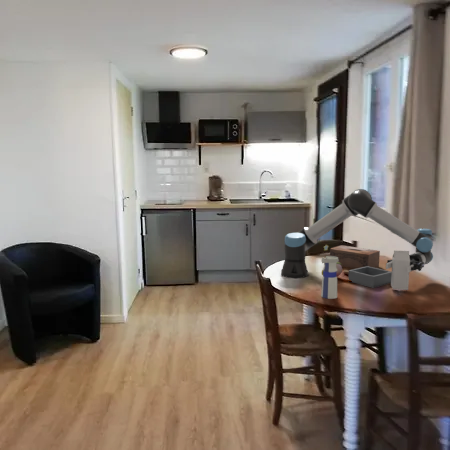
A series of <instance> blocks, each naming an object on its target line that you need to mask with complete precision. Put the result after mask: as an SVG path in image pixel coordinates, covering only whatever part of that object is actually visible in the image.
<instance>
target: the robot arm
mask: <svg viewBox="0 0 450 450" xmlns="http://www.w3.org/2000/svg"><path fill="white" fill-rule="evenodd" d="M372 198H373V197H372V194H371V193H370V192H369V191H368V190H366V189H363V188H358V189H355V190H354V191H353V192H351V193H350V194H349V195H347V196H346V197H345V198H344V199H342V202H341V203H340V204H339V205H338V206H337V207H335V208H333V210H331V211H330V212H328V213H327V214H325V215H324V216H323V217H322V218H320V219H319V220H317V221H316V222H314V223H313V224H312V225H310V226H309V227H307V226H304V227H303V228H301V229H300V230H299V231H297V232H290V233H287V234H286V235H285V236H284V261H283V265H282V269H281V271H280V272H281V273H280V275H281V276H282V277H285V278H290V279H291V278H292V279H301V278H302V279H303V278H307V277H308V276H309V272H308V268H307V267H308V266H307V263H306V251H307V250H309V249H310V248H311V247H313V246H315V245H316V244H318V240H319V239H320V238H321V237H323V236H325V235H326V234H327V233H328V232H330V231H331V230H333V229H334V228H336V227H337V226H338V225H340V224H342V223H343V222H345V221H346V220H347V219H349V218H351V217H357V216H358V215H360V216H362V217H363V218H365V219H370V220H372V221H374V222H375V223H377V224H379V225H380V226H382V227H383V228H385V229H386V230H388V231H390V232H391V233H393V234H394V235H396V236H397V237H399V238H400V239H403V240H404V241H406V242H407V243H409V244H410V245H412V246H414V247H415V252H414V253H411V254H409V256H410V266H408V267H407V271H406V273H409V274H410V273H411V272H413V271H419V272H420V271H422V269H423V268H425V265H428V264H430V262H432V261H433V259H434V255H433V252H431V251H432V249H433V246H434V243H433V240H432V238H433V231H432V229H431V228H423V229H422V228H418V229H416V228H415V227H412V226H411V225H409V224H408V223H406V222H404V221H403V220H401V219H399V218H398V217H396V216H395V215H393V214H392V213H390V212H388V211H386V210H385V209H384V208H382V207H380V206H379V205H377V204H378V203H377V202H376V201H374V200H373V199H372ZM385 269H386V270H389V269H392V259H387V263H385Z"/></svg>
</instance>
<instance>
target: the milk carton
mask: <svg viewBox="0 0 450 450" xmlns="http://www.w3.org/2000/svg"><path fill="white" fill-rule="evenodd" d="M409 255H410V250H393V255H392V259H391V260H392V268H391V272H392V275H391V283H390V286H391V288H392V290H397V291H398V290H402V291H409V282H410V280H409V279H410V272H409V273H406V271H407V267H408V266H410V256H409Z"/></svg>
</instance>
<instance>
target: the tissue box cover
mask: <svg viewBox="0 0 450 450" xmlns="http://www.w3.org/2000/svg"><path fill="white" fill-rule="evenodd" d="M380 254H381V252H380V250H378V249H377V250H376V249H370V248H362V247H357V246H355V247H354V246H349V245H343V244H342V245H337V246H333V247H331V248H329V256H335V257H338V259H339V261H338V262H339V263H341V264H340V265H341V266H342V267H345V268H351V269H357V268H362V267H366V266H369V267H373V268H379V267H380V256H381V255H380Z"/></svg>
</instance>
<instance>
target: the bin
mask: <svg viewBox="0 0 450 450" xmlns="http://www.w3.org/2000/svg"><path fill="white" fill-rule="evenodd" d="M391 275H392V270H391V271H389V270H387V269H386V270H385V269H382V268H379V267H376V268H373V267H369V266H366V267H362V268H357V269H355V268H352V269H349V270H348V279H349V280H351V281H352V282H351V283H353V284H358V285H361V286H365V287H368V288H372V289H374V288H378V287H382V286H385V285H389V284H390V285H391ZM348 279H347V280H348Z"/></svg>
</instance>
